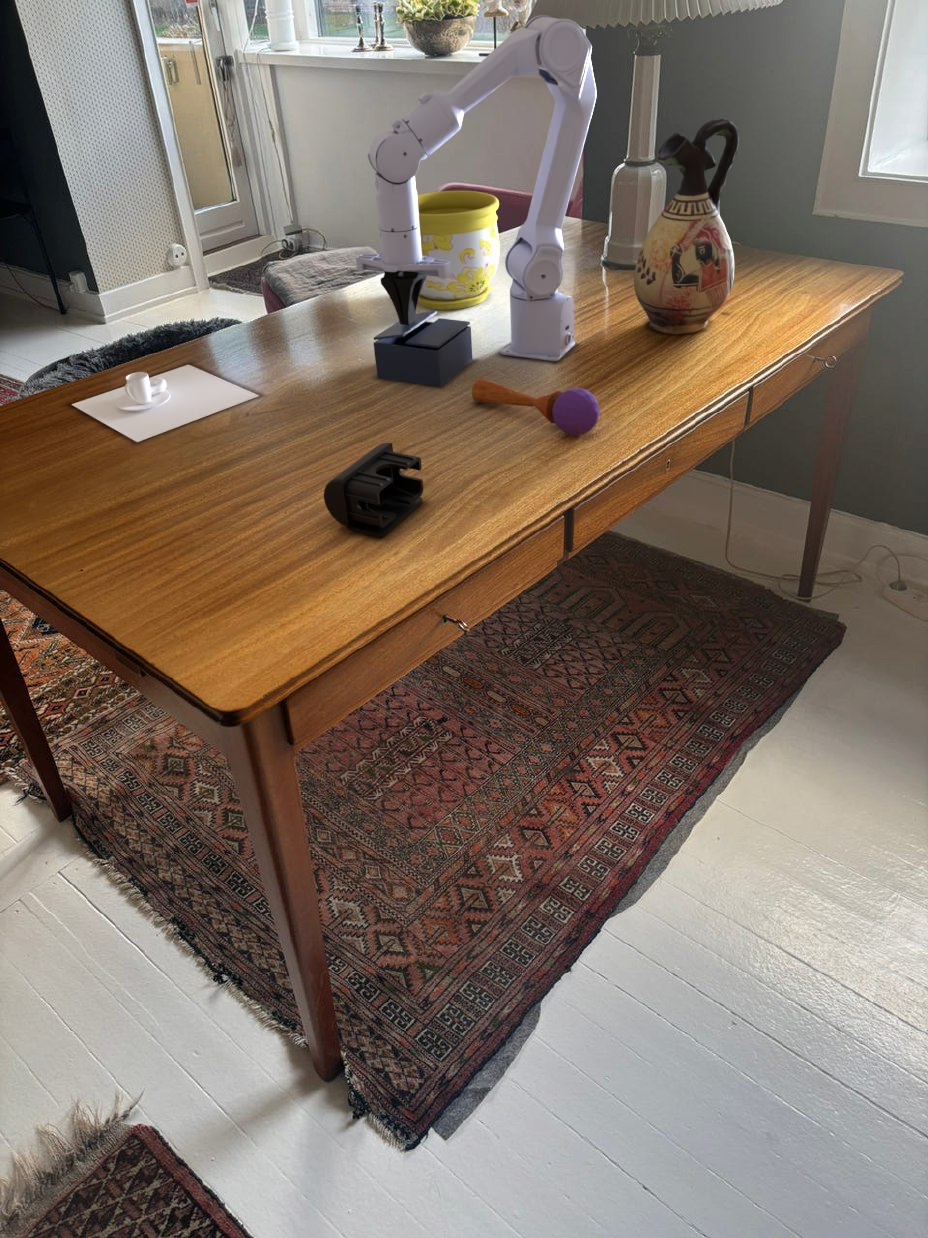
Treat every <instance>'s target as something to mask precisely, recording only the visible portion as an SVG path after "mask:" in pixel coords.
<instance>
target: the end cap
mask: <svg viewBox="0 0 928 1238" xmlns="http://www.w3.org/2000/svg"><path fill="white" fill-rule="evenodd" d="M422 469H423V468H422V459H421V457H420V456H416V455H410V454H408V453H407V454H406V453H401V452H397V451H394V445H393V443H392V442H382V443H379V444H377V445H376V446H375V447H374V448H372V449H371V450H370V451H368V452H367V453H366V454H364V455H363V456H362V457H360V458H359V459H358V460H356V461H355V462H354V463H352V464H350V465H349V466H348V467H346V469H344V470H343V471H341V472H340V473H339V474H337V475H336V476H335V477H333V478H332V479H330V480H329V481H328V482H327V483H326V485H325V487H324V489H323V500H324V505H325V507H326V509H327V511H328V513H329V514H330V515H331V517H332V518H333V519H334V520H335V521H336V522H338V523H339V524H340V525H342V526H343V527H345V528H346V529H347V530H349V531H351V532H354V533H357V534H359V535H360V534H361V535H364V536H368V537H371V538H376V539H384V538H386V536H388V535H389V534H390V533H391V532H392V531H393V530H394V529H396V528H397V527H398V526H399V525H400V524H401V523H402V522H403V521H405V520H406V519H407V518H409V517H410V515H411V514H413V513H414V512H415V511H416V510H418V508H419V507H421V506H422V505H423V503H424V502H423V498H422V497H421V496H422V495H423V493H424V480H423V478H419V477H413V476H409V475H405V474H404V473H403V472H402V470H403V471H408V470H415V471H418V472H420V471H421V470H422Z"/></svg>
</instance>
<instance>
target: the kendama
mask: <svg viewBox="0 0 928 1238" xmlns="http://www.w3.org/2000/svg"><path fill="white" fill-rule="evenodd" d="M471 397H472V399H473V401H474V402H475V403H481V404H494V405H495V404H496V405H507V406H519V407H529V408H530V407H531V408H532V407H533V408H535V409H536V410H537V411H538V412H539V413H540V414H541V416H543V417H544V418H545V419H546V421H548V422H549V423H550V424H555V426H556V427H557V428H558V429H559V430H560V431H562V432H563V433H564V434H566V435H570V436H582V435H585V434H587V433H588V432H590V431H591V430H592V429H593V428H595V426H596V425H597V423H598V421H599V419H600V414H601V411H600V406H599V403H598V400H597V398H596V396H594V395H593V393H592V392H590V391H589V390H588V389H585V388H580V387H571V388H568V389H566V390H564V391H560V390H557V391H553V392H551V393H549V394H546V395H545V394H544V395H542V396H539V397H537V398H536V397H533V396H531V395H528V394H525V393H523V392H520V391H517V390H515V389H512V388H509V387H507V386H505V385H501V384H499V383H496V382H493V381H491V380H488V379H485V378H481V377H480V378H478V379H476V380H475V382H474V383H473V385H472V389H471Z"/></svg>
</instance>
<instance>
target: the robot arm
mask: <svg viewBox="0 0 928 1238" xmlns="http://www.w3.org/2000/svg"><path fill="white" fill-rule="evenodd" d="M592 48H593V46H592V44H591V42H590V40H589V38H588V37H587V36H586V34H585V32H584V30H583V28H581V26H580V25H579V24H578V23H577V22H576V21H574V20H572V19H569V18H556V17H553V16H550V15H545V14H541V15H540V14H539V15H537V16H534V17H532V18H530V19H529V20H528V21H527V22H526V23H525V25H524V26H523V27H522V26H521V27H519V28H517V29H516V30H514V31H512V32H511V33H510V35H508V36H507V37H506V38H505V39H504V40H503V41H502V42H501V43H500V44H499V45H497V47H496V48H495V49H493V50H492V51H491V52H490V53H489V54H487V56H486V57H484V58H483V59H482V60H481V61H480V62H479V63H478V64H477V65H476V66H475V67H474V68H473V69H472V70H471V71H469V72H468V73H467V74H466V75H465V76H464V77H463V78H462V79H461V80H459V82H458V83H457V84H456V85H455V86H453V87H452V88H451V89H450V90H449V91H443V90H438V89H437V90H433V91H432V92H431V93H430V94H429V93H428V92H426V91H424V92H423V93H422V94H421V95H420V96H418V101H419V103H418V104H417V105H416V106H415V107H414V108H412V109H411V110H410V111H409V112H408V113H406V114H405V115H404V116H403V117H402V118H400V119H397V118H395V119H394V120H392V121H391V122H390V126H391V127H392V129H388V130H383V131H381V132H379V133H378V134H376V135H375V136H374V138H373V139H372V141H371V145H370V146H369V153H367V159H368V162H369V165H370V166H371V167H372V169H373V170H374V171H375V173H374V178H375V180H374V184H375V188H376V192H375V200H376V210H377V221H378V231H379V240H380V250H381V253H362V254H359V255H358V256H356V257H355V262H356V263H355V264H356V271H357V272H365V271H373V272H383V273H384V274H383V277H381V278H380V284H381V286H382V287H383V289H384V290H385V291H386V293H387V295H388V296H389V298H390V300H391V302H392V305H393V307H394V309H395V312H396V315H397V318H398V321H400V324H401V325H410V324H412V323H413V322H415V315H416V314H417V307H418V304H419V302H418V299H419V295H420V292H421V289H422V287H423V284H424V282H425V280H426V277H427V276H435V277H439V278H440V279H445V278H447V277H449V276H450V275H451V268H450V261H443V260H438V259H434V258H430V257H426V256H422V252H421V238H420V225H419V212H418V199H417V195H418V191H417V185H416V175H417V173H418V172H419V168H420V163H421V161H424V160H426V159H427V158H428V157H430V156H431V155H432V154H433V153H434V152H436V151H437V150H439V148H440V147H442V146H443V145H444V144H445V143H446V142H447V141H449V140H450V139H452V137H453V136H454V135H456V134H457V133H459V132H460V130H461V129H462V125H463V119H464V115H465V114H466V113H467V112H469V110H471V109H472V108H474V107H475V106H476V105H477V104H479V103H480V102H481V101H483V100H484V99H485V98H486V97H488V96H489V95H491V94H492V93H493V92H494V91H496V90H497V89H498V88H500V87H501V86H502V85H504V84H505V83H506V82H508V81H510V79H511V78H514V77H522V76H523V77H525V76H535V75H537V76H539V77H541V78H542V80H543V81H544V83H545V85H546V87H547V88H548V91H549V92H550V94H551V95H552V97H553V99H554V101H555V104H554V108H553V112H552V116H551V120H550V124H549V128H548V132H547V136H546V141H545V144H544V148H543V153H542V156H541V160H540V165H539V168H538V172H537V177H536V180H535V183H534V184H535V185H534V189H533V191H532V192H533V193H532V198H531V202H530V206H529V209H528V213H527V216H526V220H525V221H524V222H523V223H522V225H521V226H520V227H519V228H518V231H517V234H516V238H515V240H514V242H513V243H512V245H511V246H510V247H509V248H508V250H507V252H506V255H505V258H504V266H505V267H504V268H505V270H506V273H507V274H508V276H509V277H510V278H511V279H512V283H511V285H510V288H509V309H510V310H509V312H510V313H509V314H510V316H509V317H510V343H509V344H508V345H507V346H506V347H505V348H504V349H502V350H501V355H503V356H509V357H510V356H511V357H518V358H527V359H535V360H543V361H551V362H559V361H560V360H561V359H562V358H563V357H564V356H565V355H566V354H567V353H568V352H569V351H570V350H571V349H572V348H573V347H574V346H575V345H576V341H575V338H574V337H575V303H574V299H573V297H572V296H571V295H568V294H563V293H561V292H559V291H558V290H559V288H560V286H561V284H562V281H563V277H564V271H563V264H562V263H563V262H562V261H563V260H562V259H563V255H564V251H565V249H564V241H563V240H564V239H563V235H562V228H563V224H564V220H565V217H566V214H567V209H568V205H569V202H570V198H571V195H572V191H573V187H574V184H575V180H576V175H577V172H578V168H579V164H580V161H581V158H582V154H583V150H584V145H585V143H586V138H587V135H588V131H589V126H590V123H591V119H592V116H593V112H594V109H595V104H596V100H597V86H596V81H595V76H594V71H593V65H592V59H591V57H592V56H591V55H592V50H593V49H592Z"/></svg>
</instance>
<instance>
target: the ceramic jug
mask: <svg viewBox="0 0 928 1238" xmlns="http://www.w3.org/2000/svg"><path fill="white" fill-rule="evenodd" d="M739 134H740V133H739V130H738V127H737V126H736V125H735V124H734V123H733V122H732V121H730V120H728V119H727V118H718V119H712V120H710V121H707V122H705V123H704V124H703V125H702V126H701V127H700V128H699V129H698V130H697V132H696V134H695V137H694V139H693V141H691V140H689V138H687V137H685V136H684V135H683V134H682V133H680V132H674V133H673V134H672V135H670V136H669V137H668V138H667V139H666V140H665V141H664V142H663V144H662V145H661V147H660V148H659V150H658V152H657V157H656V158H657V159H656V160H657V161H658V162H659V163H660V164H664V165H666V166H670V167H672V168H674V169H676V170H678V171H679V172H680V173H681V174H682V179H681V182H680V188H679V189H678V190H677V191H676V193H675V195H674V196H673V198H671V200H670V201H669V203H668V204H667V205H666V206H665V207H664V209H663V210H662V211H661V213H660V214H659V216H658V217H657V219H656V221H655V222H654V224H653V225H652V226H651V228H650V230H649V231H648V232H647V235H646V237H645V239H644V241H643V242H642V245H641V248H640V250H639V252H638V257H637V261H636V264H635V268H634V272H633V286H634V287H633V288H634V293H635V296H636V298H637V301H638V303H639V304H640V306H641V307H642V309H643V311H644V312H645V314H646V316H647V318H648V320H649V328H650V329H653V330H654V329H655V330H656V331H659V332H661V333H664V334H669V335H682V334H693V333H697V332H700V331H701V330H703V329H704V328H706V327H707V325H708V323H709V320H710V318H711V317H712V316H713V315H714V314H715V313H716V312H717V311H718V310H719V309H720V308H721V307H722V306H723V305H724V304H725V303H726V301H727V299H728V297H729V296H730V294H731V292H732V289H733V286H734V280H735V255H734V249H733V245H732V241H731V237H730V236H729V234H728V232H727V228H726V226H725V223H724V221H723V219H722V217H721V215H720V203H721V194H722V191H723V188H724V186H725V185H726V183H727V179H728V175H729V173H730V170H731V168H732V166H733V163H734V160H735V157H736V155H737V154H738V148H739V140H740V136H739ZM714 136H720V137H723V138H724V139H725V145H724V148H723V152H722V155H721V157H720V159H719V162H718V165H717V164H716V160H715V158H714V156H713V154H712V152H711V150H710V149H709V148H707V142H708V140H709V139H710V138H712V137H714ZM716 166H717V167H716ZM715 167H716V168H717V169H716V172H715V173H714V175H713V177H712V179H711V181H710V184H709V186H707V181H706V171H708V170H710V169H713V168H715Z"/></svg>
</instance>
